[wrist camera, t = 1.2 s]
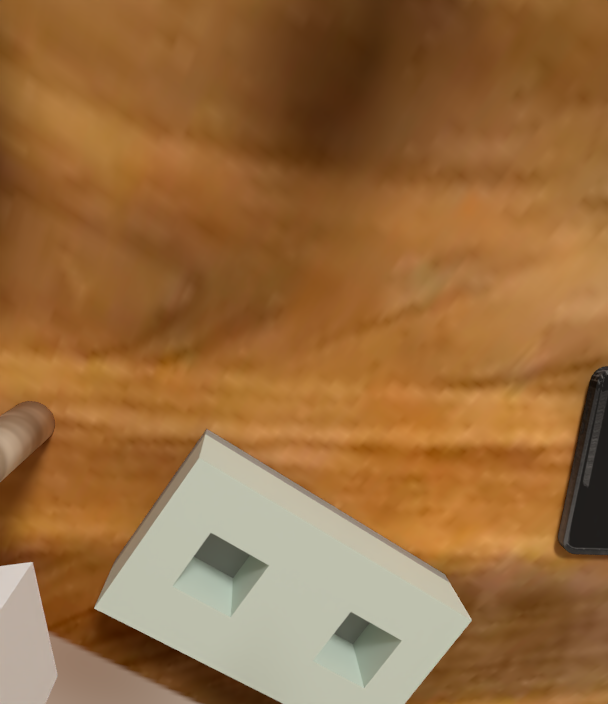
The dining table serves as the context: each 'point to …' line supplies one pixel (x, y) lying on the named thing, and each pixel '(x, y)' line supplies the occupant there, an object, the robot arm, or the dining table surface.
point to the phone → (589, 477)
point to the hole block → (280, 587)
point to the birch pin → (23, 433)
